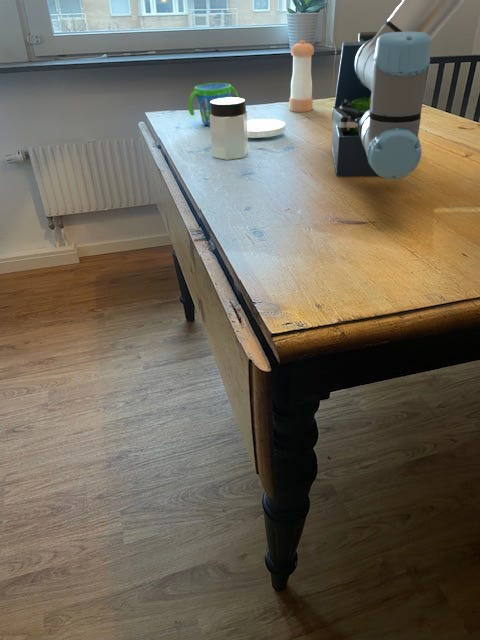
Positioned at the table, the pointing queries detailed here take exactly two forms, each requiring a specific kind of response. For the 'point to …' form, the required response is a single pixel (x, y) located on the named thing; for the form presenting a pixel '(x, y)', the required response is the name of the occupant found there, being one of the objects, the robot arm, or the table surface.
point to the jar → (228, 128)
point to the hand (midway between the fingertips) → (368, 105)
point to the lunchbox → (349, 154)
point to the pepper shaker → (301, 78)
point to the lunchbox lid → (351, 72)
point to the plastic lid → (264, 128)
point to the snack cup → (209, 97)
